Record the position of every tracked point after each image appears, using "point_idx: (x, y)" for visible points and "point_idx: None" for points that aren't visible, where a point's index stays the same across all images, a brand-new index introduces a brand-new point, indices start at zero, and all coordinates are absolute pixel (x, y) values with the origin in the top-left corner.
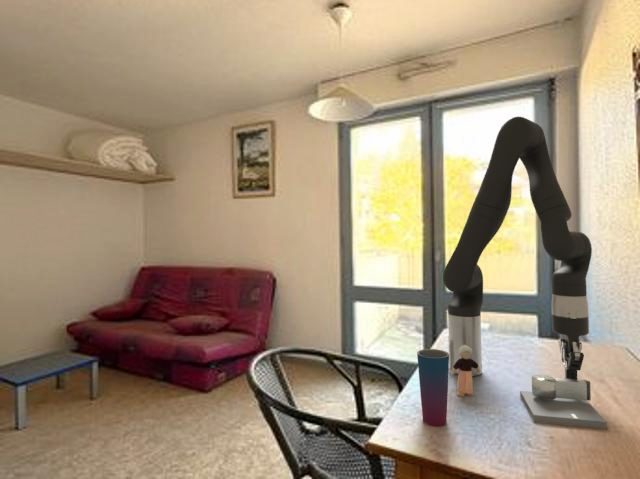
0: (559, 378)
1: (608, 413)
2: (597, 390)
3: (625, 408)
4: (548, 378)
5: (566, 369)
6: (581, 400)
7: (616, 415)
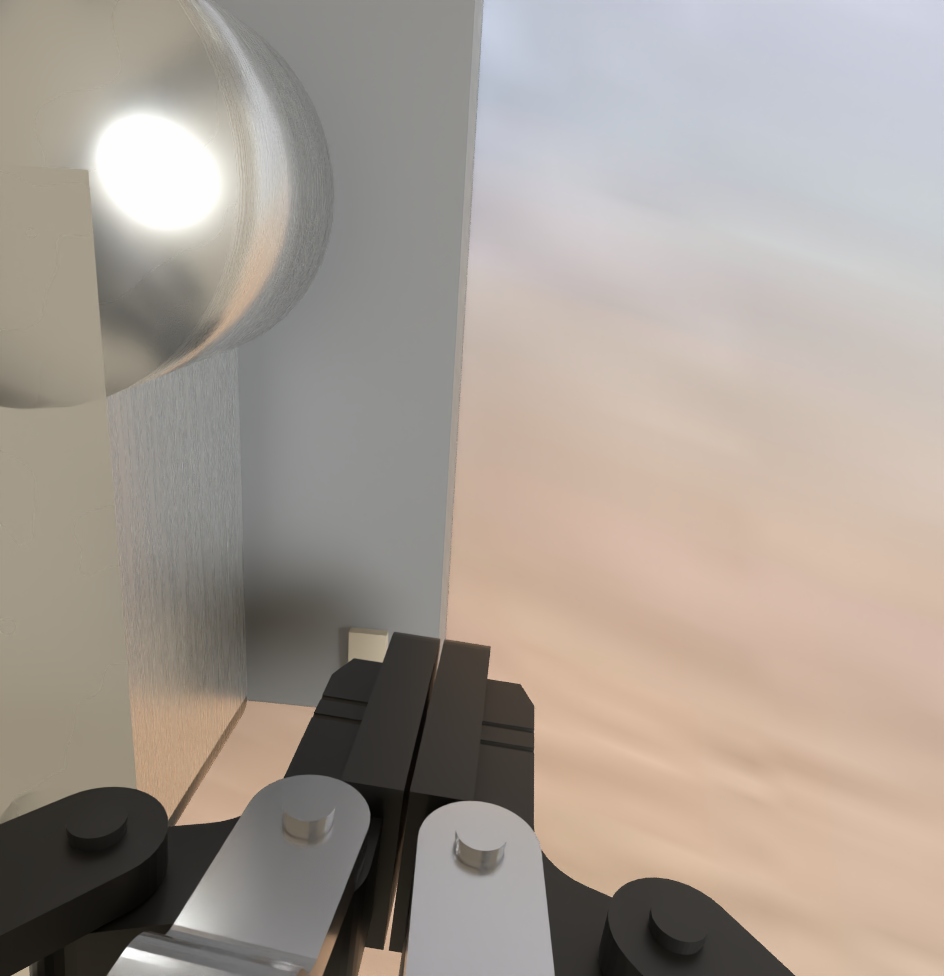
0: (97, 504)
1: (204, 783)
2: (817, 952)
3: (364, 963)
4: (17, 275)
5: (292, 777)
6: (281, 650)
7: (176, 825)
